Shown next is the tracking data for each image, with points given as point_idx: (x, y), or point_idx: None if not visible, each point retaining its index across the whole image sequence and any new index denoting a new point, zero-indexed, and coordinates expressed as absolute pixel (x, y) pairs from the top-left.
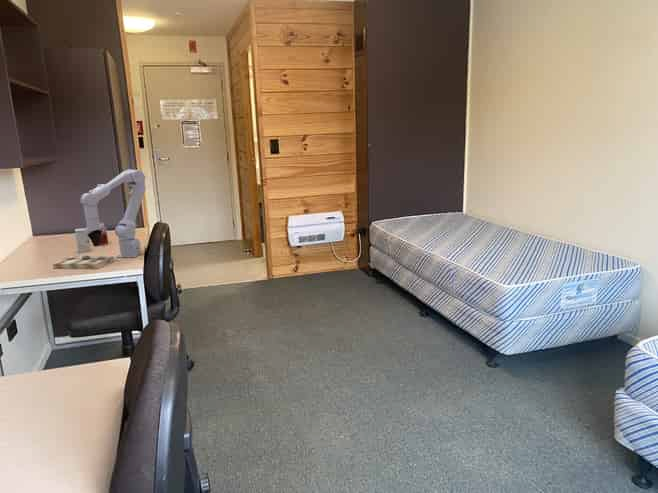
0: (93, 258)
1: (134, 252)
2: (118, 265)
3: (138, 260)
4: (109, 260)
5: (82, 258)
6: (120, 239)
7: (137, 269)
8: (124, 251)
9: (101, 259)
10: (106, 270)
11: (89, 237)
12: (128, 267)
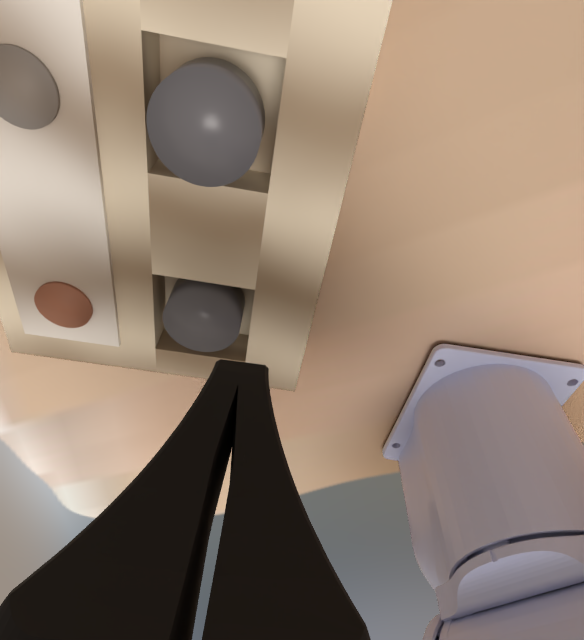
0: (229, 225)
1: (403, 488)
2: (166, 417)
3: (297, 481)
4: None
5: (158, 87)
6: (472, 567)
7: (92, 512)
8: (424, 446)
9: (172, 336)
10: (23, 387)
11: (103, 515)
12: (124, 473)
